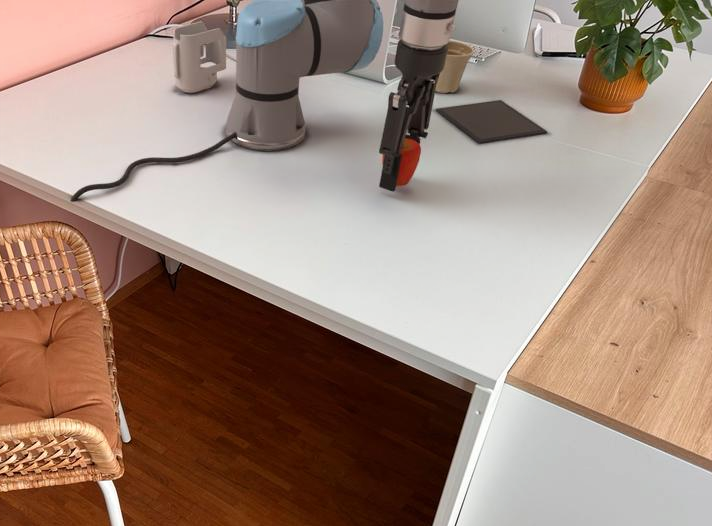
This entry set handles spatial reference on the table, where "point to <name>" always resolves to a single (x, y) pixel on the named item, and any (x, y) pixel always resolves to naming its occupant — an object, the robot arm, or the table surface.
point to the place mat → (490, 121)
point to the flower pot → (454, 66)
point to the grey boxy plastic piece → (197, 56)
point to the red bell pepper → (408, 161)
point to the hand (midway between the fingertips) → (396, 180)
